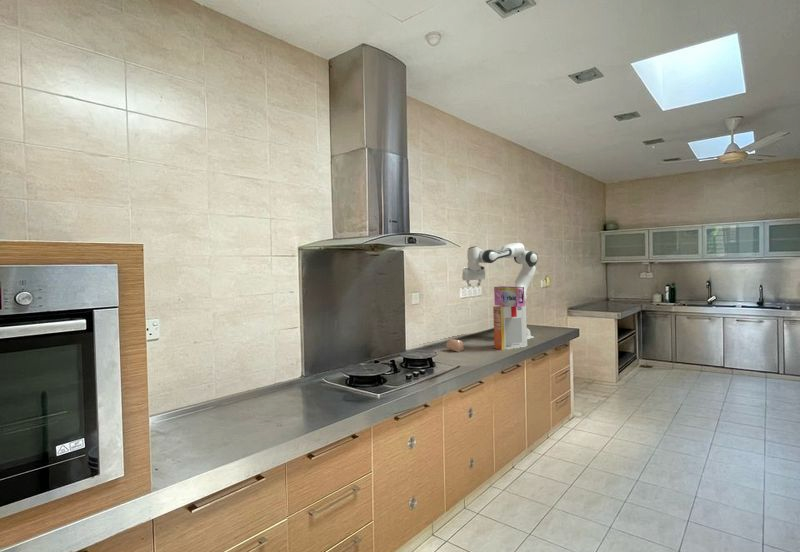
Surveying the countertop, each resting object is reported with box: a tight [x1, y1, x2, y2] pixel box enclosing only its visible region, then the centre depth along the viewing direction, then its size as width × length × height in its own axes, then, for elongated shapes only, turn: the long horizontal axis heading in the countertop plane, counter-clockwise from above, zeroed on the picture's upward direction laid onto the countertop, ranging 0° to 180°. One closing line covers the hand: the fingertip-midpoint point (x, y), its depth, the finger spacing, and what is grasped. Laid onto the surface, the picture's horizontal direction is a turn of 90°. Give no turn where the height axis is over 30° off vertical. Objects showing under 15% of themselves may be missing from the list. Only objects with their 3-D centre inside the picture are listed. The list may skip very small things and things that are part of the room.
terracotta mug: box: [446, 338, 465, 353], centre depth 302 cm, size 10×8×9 cm
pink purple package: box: [493, 285, 526, 307], centre depth 306 cm, size 24×8×14 cm, turn 30°
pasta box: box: [492, 304, 528, 351], centre depth 307 cm, size 23×8×30 cm, turn 115°
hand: (474, 285), depth 326 cm, fingers open, 8 cm apart
